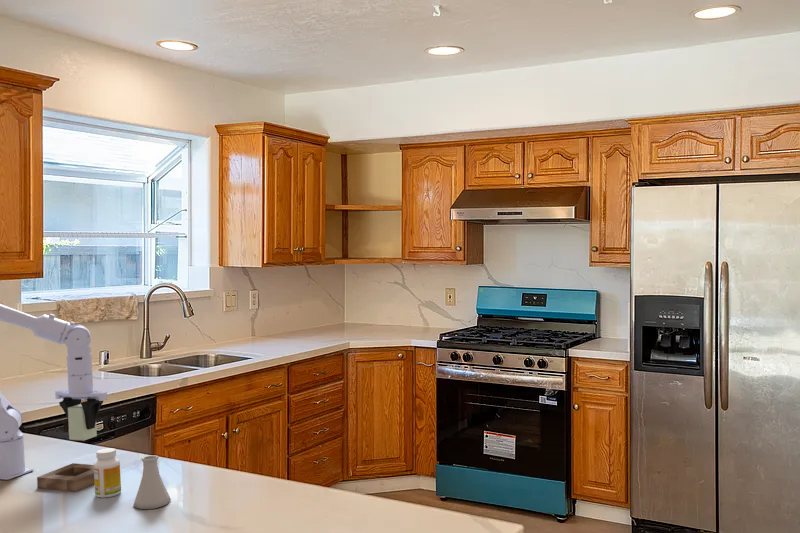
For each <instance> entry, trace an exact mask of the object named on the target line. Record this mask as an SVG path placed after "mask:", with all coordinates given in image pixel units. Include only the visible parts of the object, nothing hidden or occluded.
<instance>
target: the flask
mask: <svg viewBox="0 0 800 533" xmlns="http://www.w3.org/2000/svg"><path fill="white" fill-rule="evenodd" d="M158 460H159V455H154V454H153V455H146V456H143V457H142V458H141V462H142V463H143V470H142V476H141V480H140V483H139V487H138V489H137V492H136V496H135V499H134V502H133V505H132V507H134V508H137V509H140V510H147V509H148V510H149V509H153V510H154V509H157V508H160V507H164V506H166V505H168V504H169V502H170V501H171V500H172V499H171V497H170V494H169V492H168V491H167V490H168V489H167V488H166V486H165V484H164V481H163V479H162V477H161V473H160V471H159V467H158Z"/></svg>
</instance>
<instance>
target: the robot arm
mask: <svg viewBox="0 0 800 533" xmlns="http://www.w3.org/2000/svg"><path fill="white" fill-rule="evenodd" d="M0 321H2V322H5V323H8V324H12V325H15V326H19V327H22V328H25V329H30V330H31V331H32V333H33V334H34V336H35V337H37V338H39V339H43V340H45V341H49V342H51V343H55V344H58V345H65V346H66V348H67V356H66V368H67V388H68V389H60V390H56V391H55V393H54V395H55V400H60V399H62V400H61V401H59V406H60V407H61V408H62V410H63V412H64V414H65V415H66V418H67V420H68V407H72V406H75V405H78V404H81V405H82V408H83V411H84V414H85V422H86V428H87V429H88V430H89V429H92V428H95V423H96V424H97V417H98V414H99V411H100V409H101V407H102V405H103V403H104V401H106V400H108V392H107V391H103V390H102V391H101V390H96V389H95V388H94V383H93V382H94V379H93V378H94V377H93V362H92V361H93V360H92V357H93V356H92V354H91V352H92V348H91V345H90V344H91V341H92V334H91V332H90V330H89V329H88V328H87V327H86V326H84V325H82V324H75V323H76V322H75V321H70V322H69V321H65V320H62V319H60V318H57V317H56V314H53V313H50V314H49V315H48V314H42V315H40V316H34V315H31V314H28V313H26V312H23V311H20V310H18V309H15V308H12V307H9V306H7V305H5V304H1V303H0ZM82 400H85V401H82ZM23 418H24V417H23V414H22V413H21V411H20V410H19V409H18V408H15V407H14V406H13V405H12V404H11V402H10V400H8V399H7V398H6V397H5V396H4V394H3V393H2V391H1V390H0V480H6V481H7V480H12V479H14V478H17V477H19V476H20V477H21V476H22V475H24V474H28V473H30V472H33V471H34V470H35V468H32V467H26V460H25V458H26V457H25V456H26V455H25V441H24V440H25V438H24V433H23V432H22V431H21V430H20V427H21V426H22V424H23V420H24V419H23Z"/></svg>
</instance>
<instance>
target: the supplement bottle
mask: <svg viewBox="0 0 800 533" xmlns="http://www.w3.org/2000/svg"><path fill="white" fill-rule="evenodd" d="M116 450H117V449H116V448H112V447H110V448H108V447H107V448H102V449H98V450H97V451H96V459H97V460H95V461H94V463H93V465H94V483H95V484H94V496H95V497H97V498H99V497H100V499H101V498H103V499H105V498H113V497H115V496H118V495H120V494H121V492H122V481H121V479H122V478H121V463H120V459H118V458H116V456H117V453H116V452H117V451H116Z"/></svg>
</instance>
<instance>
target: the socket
mask: <svg viewBox="0 0 800 533" xmlns="http://www.w3.org/2000/svg"><path fill="white" fill-rule="evenodd" d="M36 482H37V483H36V484H37V489H45V490H56V491H65V492H66V491H67V492H79V491H81V490H83V489H85V487H86V488H88V487H90V486H92V485H95V484H94V464H88V463H87V464H86V463H85V464H84V463H73V462H72V463H70V464H67V465H65V466H62V467H60V468H57V469H53V470H52V471H49V472H47V473H44V474H42V475H39V476H37V477H36ZM91 484H92V485H91ZM89 485H90V486H89ZM87 486H88V487H87Z"/></svg>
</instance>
